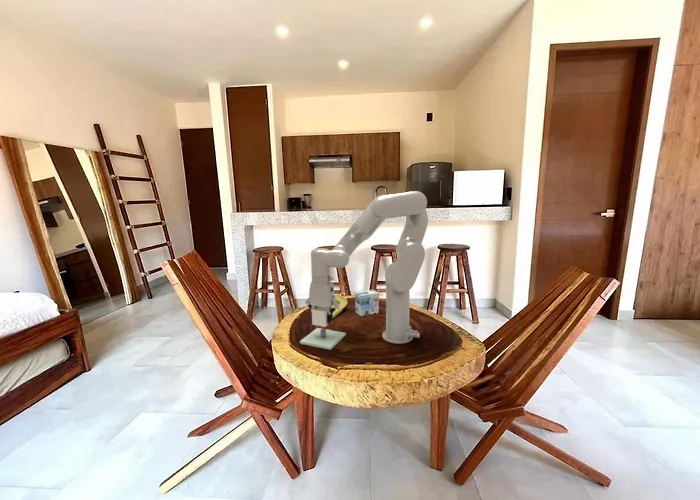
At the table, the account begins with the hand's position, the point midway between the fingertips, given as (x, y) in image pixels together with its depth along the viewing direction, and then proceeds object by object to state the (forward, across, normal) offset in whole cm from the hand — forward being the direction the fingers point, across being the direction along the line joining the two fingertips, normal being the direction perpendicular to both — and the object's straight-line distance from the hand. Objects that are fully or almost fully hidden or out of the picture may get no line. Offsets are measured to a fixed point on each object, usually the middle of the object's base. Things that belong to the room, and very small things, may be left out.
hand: (322, 321), depth 126 cm
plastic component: (+8, +10, -28) cm, 31 cm away
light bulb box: (+8, -6, -35) cm, 37 cm away
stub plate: (+8, 0, 0) cm, 8 cm away
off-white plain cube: (+1, 0, 0) cm, 1 cm away
